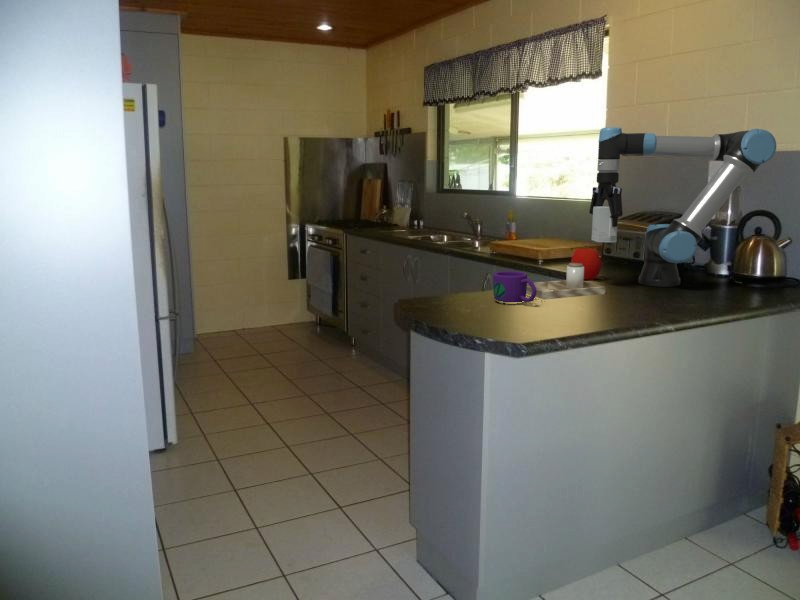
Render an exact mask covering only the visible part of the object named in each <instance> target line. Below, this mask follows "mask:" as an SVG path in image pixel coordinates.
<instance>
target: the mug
mask: <svg viewBox="0 0 800 600" xmlns="http://www.w3.org/2000/svg"><path fill="white" fill-rule="evenodd" d="M492 277H493V279H492V291H493V299H494V300H495V299H496V300H498V301H503V302H522V301H524V302H525V303H530V302H533V301H534V300H535V299H536V297H535V296H536V292H537V290H536V287H535V285H534V283H535V282H533V281H532V280H531V279H530V278H528V274H527V272H523V271H516V270H515V271H514V270H504V271H502V270H501V271H496V272H494V273H493V275H492ZM527 283H528V284H529V285H530V286H531V288H532V295H530V296H529V297H530V298H529V297H526V296H527V294H526V291H527ZM534 298H535V299H534Z"/></svg>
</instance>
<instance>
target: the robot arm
mask: <svg viewBox="0 0 800 600" xmlns="http://www.w3.org/2000/svg"><path fill="white" fill-rule="evenodd" d="M776 151H777V141H776V138H775V136H774V135H773V134H772V133H771V132H770V131H768V130H767V129H760V128H752V129H750V130H749V129H748V130H741V131H735V132H728V133H725V134H724V133H723V134H721V133H719V134H717V133H715V134H714V135H712V136H691V135H690V136H688V135H687V136H686V135H683V136H681V135H680V136H679V135H656V134H654V133H651V132H634V133H626V132H625V133H624V132H623V131H622V127H619V126H618V127H616V126H613V127H612V126H611V127H602V128H601V129H600V130H599V138H598V154H597V171H598V172H597V173H596V183H597V184H598V186H597V187H596V186H595V187H592V194H591V200H590V201H591V202H590V207H589V210H588V211H589V214H591V216H593V207H602V206H604V203H605V201H607V203H608V206H609V208H610V213H611V216H610V220H609V236H616V230H617V231H618V227H617V225H619V224H618V223H619V218H620V217H623V215H624V214H623V201H622V199H623V198H622V192H623V188H621V187H617V184H618V183H619V178H620V177H619V176H620V174H619V171H620V162H621V161H620V160H621V158H620V156H622V157H633V156H634V157H667V158H668V157H669V158H670V157H673V158H674V157H675V158H707V159H708V158H709V159H710V160H711V161H713V162H714V161H716V162H717V161H718V162H723V164H722V165H720V167H719V169H718V170H717V171H716V172H715V174H714V175H713V176H712V177H711V179H709V181H708V182H707V183H706V185H705V187H704V188H703V189H702V190H701V192H699V194H698V196H696V197H695V199H694V200H693V202H692V203H691V204H690V206H688V208H687V209H686V210H685V212H684V213H683V214H682V216H681V217H679V218H674V219H673V220H672V221H671V223H670V224H669V223H663V224H662V223H661V224H660V223H657V224H649V225H647V227H646V232H645V246H644V247H645V248H644V249H645V250H644V261H643V262H644V264H643V266H642V269H641V272H640V274H639V276H638V284H640V285H642V286H643V285H644V286H648V287H649V286H650V287H661V288H662V287H665V288H667V287H668V288H669V287H679V286H680V285H681V277H680V273H679V269H678V266H677V264H682V263H685V262H688V261H689V260H690V259H692V258H693V257H694V256H695V254H696V252H697V249H698V247H697V246H698V243H699V242H700V241H701V240H702V238H703V236H702V235H703V234H702V232H703V230H704V229H705V227H706V226H707V225H708V223H709V222H710V221H711V220H712V219H713V217H714V216H715V215H716V214H717V212H718V211H719V210H720V209H721V208H722V206H723V205H724V204H725V202H727V200H728V199H729V197H730V196H731V195H732V194H733V192H734V191H736V188H737V187H738V186H739V185H740V183H742V181H743V180H744V179H745V177H747V176H751V175H753V174H755V172H756V171H757V169H758V168H759V167H760V166H761V165H763V164H765V163H767V162H769V161H770V160H771V159H772V158H773V157H774V155H775V154H776ZM614 213H615V214H614Z"/></svg>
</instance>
